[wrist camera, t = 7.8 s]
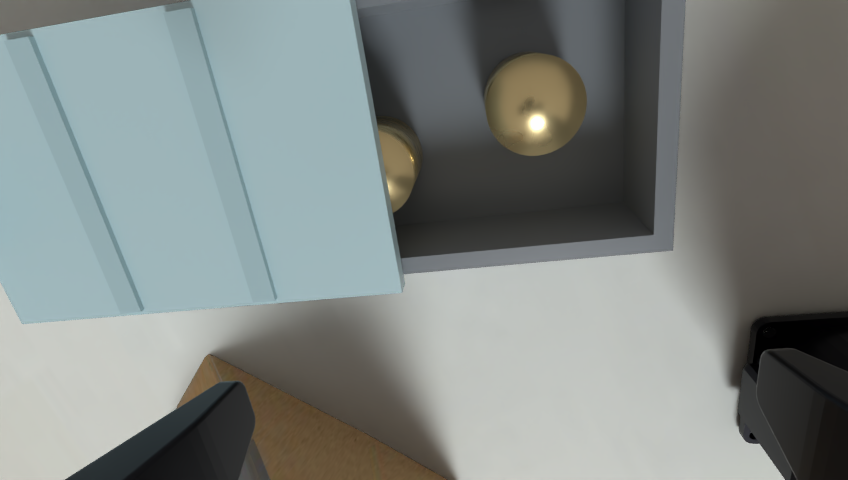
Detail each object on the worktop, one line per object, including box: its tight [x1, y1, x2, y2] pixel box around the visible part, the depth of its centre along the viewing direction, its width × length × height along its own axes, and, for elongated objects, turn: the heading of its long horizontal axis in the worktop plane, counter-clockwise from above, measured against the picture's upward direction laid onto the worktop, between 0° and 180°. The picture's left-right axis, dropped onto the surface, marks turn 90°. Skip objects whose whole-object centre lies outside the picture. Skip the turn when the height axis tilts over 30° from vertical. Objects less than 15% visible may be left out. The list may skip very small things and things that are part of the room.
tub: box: [355, 0, 686, 274], centre depth 17 cm, size 14×9×4 cm, turn 98°
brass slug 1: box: [376, 116, 423, 213], centre depth 17 cm, size 3×3×3 cm
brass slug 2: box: [484, 51, 587, 156], centre depth 16 cm, size 3×3×3 cm
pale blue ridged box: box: [0, 0, 405, 324], centre depth 14 cm, size 16×9×5 cm, turn 98°
